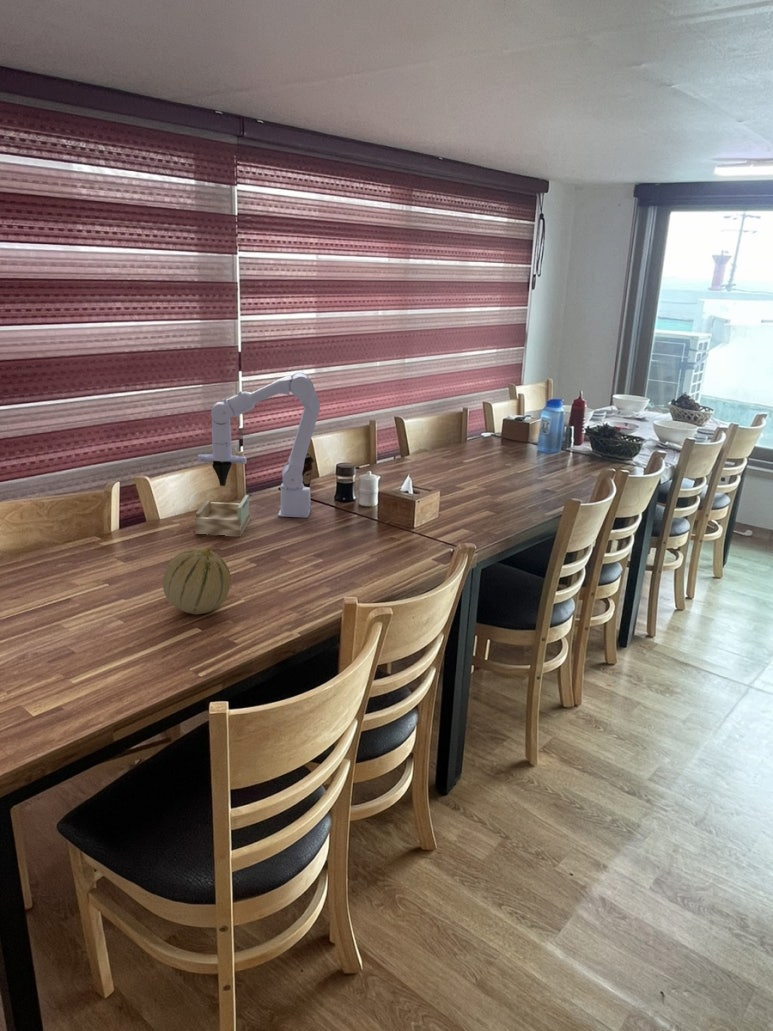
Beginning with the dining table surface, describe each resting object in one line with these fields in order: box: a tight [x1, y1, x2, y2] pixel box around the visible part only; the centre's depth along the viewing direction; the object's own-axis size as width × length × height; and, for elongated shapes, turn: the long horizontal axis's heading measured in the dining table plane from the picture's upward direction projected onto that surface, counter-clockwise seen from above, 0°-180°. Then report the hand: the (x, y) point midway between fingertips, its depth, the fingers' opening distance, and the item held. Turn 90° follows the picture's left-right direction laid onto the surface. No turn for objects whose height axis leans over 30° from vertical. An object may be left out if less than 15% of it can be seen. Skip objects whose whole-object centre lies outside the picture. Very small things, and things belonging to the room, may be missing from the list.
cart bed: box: [194, 499, 251, 537], centre depth 216 cm, size 13×15×6 cm
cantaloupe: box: [162, 546, 232, 615], centre depth 162 cm, size 15×15×15 cm
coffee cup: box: [302, 452, 315, 489], centre depth 251 cm, size 9×8×13 cm
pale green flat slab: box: [237, 494, 250, 527], centre depth 215 cm, size 1×12×6 cm, turn 0°
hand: (223, 485), depth 224 cm, fingers closed
